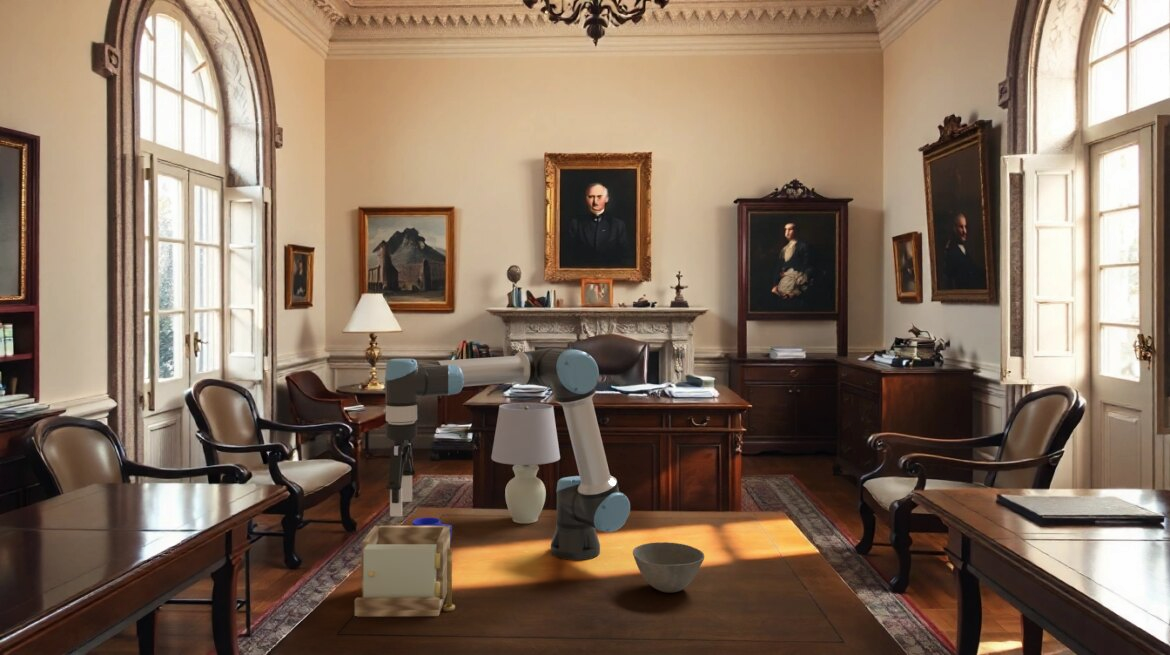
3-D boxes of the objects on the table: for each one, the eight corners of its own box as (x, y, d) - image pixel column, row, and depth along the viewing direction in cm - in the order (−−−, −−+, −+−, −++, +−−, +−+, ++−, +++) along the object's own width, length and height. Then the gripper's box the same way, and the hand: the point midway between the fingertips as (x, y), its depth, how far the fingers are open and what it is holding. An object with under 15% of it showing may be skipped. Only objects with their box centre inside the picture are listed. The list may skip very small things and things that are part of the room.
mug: (446, 560, 230) (446, 526, 230) (407, 557, 232) (408, 523, 232) (456, 551, 238) (456, 519, 238) (419, 548, 240) (419, 516, 240)
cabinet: (462, 584, 210) (463, 525, 210) (452, 616, 189) (453, 550, 189) (374, 585, 209) (374, 525, 208) (354, 616, 188) (354, 550, 188)
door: (441, 600, 195) (441, 544, 195) (438, 607, 190) (438, 550, 190) (367, 600, 194) (367, 544, 194) (362, 608, 189) (362, 550, 189)
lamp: (569, 515, 281) (570, 404, 280) (544, 533, 258) (545, 412, 257) (508, 508, 289) (509, 400, 288) (478, 525, 266) (479, 408, 265)
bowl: (618, 591, 207) (618, 553, 207) (658, 572, 222) (659, 537, 221) (677, 609, 195) (678, 569, 195) (716, 588, 210) (717, 551, 209)
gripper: (395, 414, 204) (396, 495, 204) (374, 430, 179) (374, 522, 179) (425, 414, 204) (425, 495, 205) (407, 430, 179) (407, 522, 180)
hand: (401, 508), depth 192 cm, fingers open, 13 cm apart
